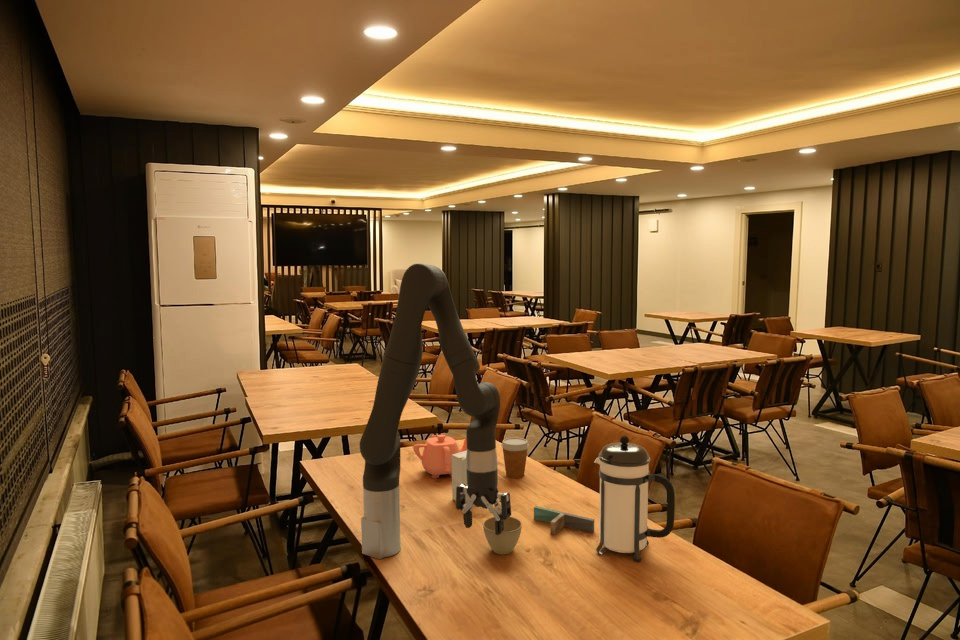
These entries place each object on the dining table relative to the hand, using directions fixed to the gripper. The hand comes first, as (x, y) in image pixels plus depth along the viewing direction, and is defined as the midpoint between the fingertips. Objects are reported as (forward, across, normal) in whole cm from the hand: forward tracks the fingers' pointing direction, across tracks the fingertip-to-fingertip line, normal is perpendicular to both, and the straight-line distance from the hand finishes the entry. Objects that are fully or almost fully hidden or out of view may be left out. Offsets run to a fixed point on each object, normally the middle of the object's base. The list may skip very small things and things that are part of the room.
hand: (483, 530), depth 155 cm
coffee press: (+10, +28, +26) cm, 39 cm away
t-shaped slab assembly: (+9, +7, +27) cm, 30 cm away
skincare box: (+9, -26, +34) cm, 44 cm away
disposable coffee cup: (+9, -24, +61) cm, 66 cm away
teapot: (+9, -47, +51) cm, 70 cm away
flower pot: (+9, 0, +9) cm, 13 cm away
